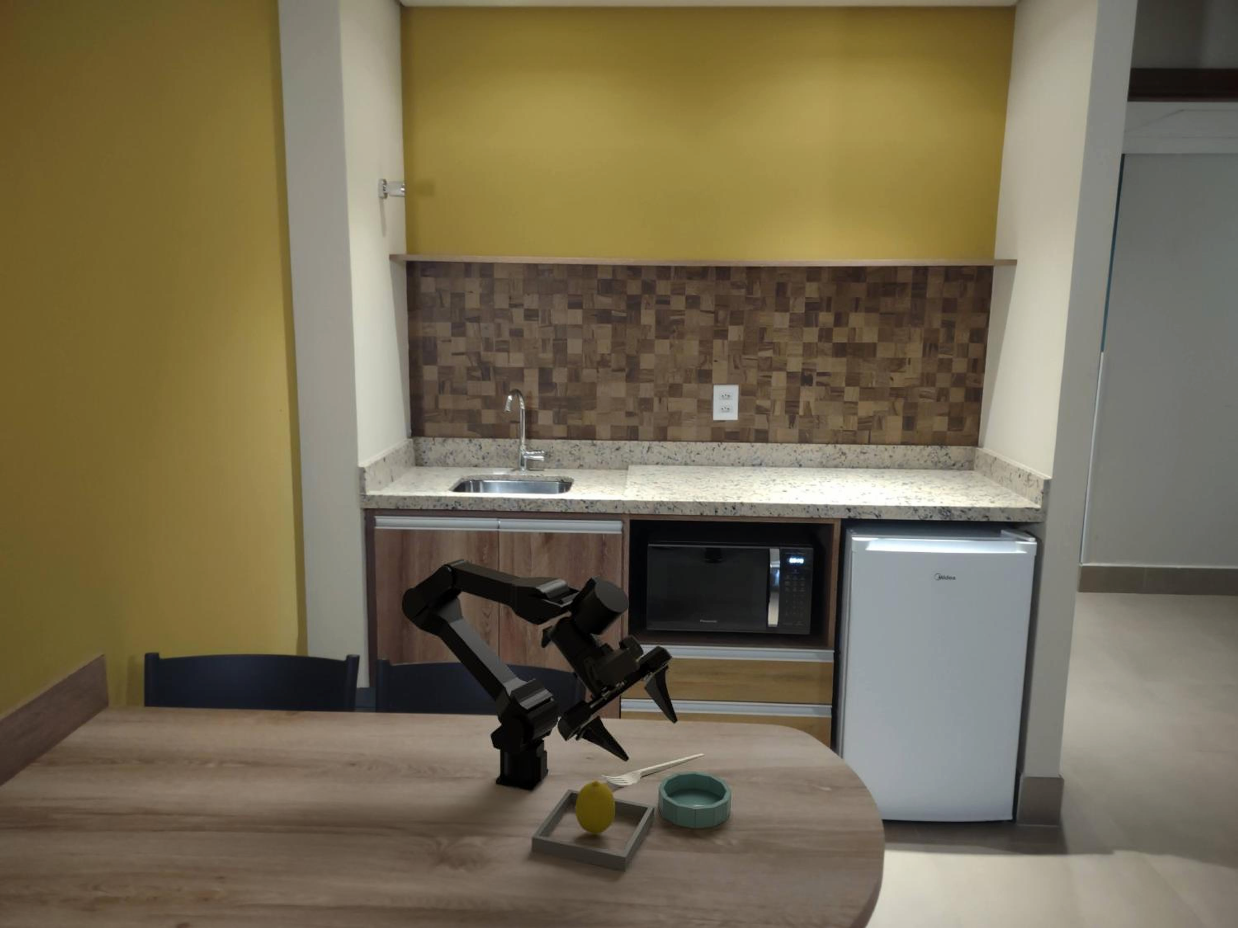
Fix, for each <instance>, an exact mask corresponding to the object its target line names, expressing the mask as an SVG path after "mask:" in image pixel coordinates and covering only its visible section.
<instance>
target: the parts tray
mask: <svg viewBox="0 0 1238 928" xmlns="http://www.w3.org/2000/svg"><path fill="white" fill-rule="evenodd" d="M579 792H580V790H574V789H567V790H566V792H565V793H564V795H563V796H562V797H561V798H560V800H559V801H558V803H557V804H556V805H555V807H553V809H552V810H551V812H549V815H547V816H546V818H545V820H544V821H543V822H542V824H541V825H540V826H539V827H538V829H537V830H536V831H535V833H534V834H533V835H532V837H531V851H532V852H537V853H541V854H544V855H545V854H546V855H551V856H555V857H560V858H564V859H568V860H573V861H577V862H583V863H587V864H592V865H595V866H600V867H604V868H609V869H613V870H614V869H615V870H617V871H618V870H619V871H622V872H626V871H627V869H628V867H629V865H630V864H631V862H632V859H633V857H634V856H635V854H636V852H637V851H638V848H639V847H640V845H641V843H642V842H643V840H644V838H645V836H646V834H647V832H648V831H649V829H650V827H651V825H652V823H653V822H654V820H655V805H650V804H646V803H641V802H638V801H637V802H635V801H631V800H625V799H621V798H616V797H614V801H615V815H619V816H624V817H630V818H635V819H640V821H639V823H638V825H637V826H636V829H635V830H634V832H633V834H632V836H631V838H630V839H629V841H628V842H627V844H626V846H625V848H624V850H623V852H617V851H614V850H613V851H612V850H607V849H603V848H598V847H594V846H590V845H586V844H580V843H575V842H572V841H565V840H561V839H557V838H553V837H549V835H550V834H551V833H552V832H553V830H554V828H556V826H557V825H558V824H559V822H560V821H559V820H561V819H562V817H564V815H565V814H566V812H567V811H568V810H569V809H570V807H571V806H575V807H576V801H577V797H578V795H579ZM567 809H568V810H567ZM564 813H565V814H564ZM558 821H559V822H558ZM556 824H557V825H556ZM555 825H556V826H555Z"/></svg>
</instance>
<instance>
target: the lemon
mask: <svg viewBox="0 0 1238 928" xmlns="http://www.w3.org/2000/svg"><path fill="white" fill-rule="evenodd" d="M579 791H580V792H579V795H578V797H577V801H576V806H575V817H576V820H577V823H578V824H579V826H580V827H581V828H582V829H583V830H584V831H586V832H588V833H590V834H592V835H594V836H596V835H598V834H601V833H603V832H606V830H608V828H610V827H611V825H612V823H613V821H614V818H615V815H616V814H615V801H614V798H615V797H614V794H613V792H612V790H611V788H610V787H608V786H607V784H605V783H603V782H600V781H598V780H594V781H590V782H589V783H587V784H585V785H584V786H583V787H582V788H581V789H580V790H579Z"/></svg>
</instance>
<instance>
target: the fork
mask: <svg viewBox="0 0 1238 928" xmlns="http://www.w3.org/2000/svg"><path fill="white" fill-rule="evenodd" d="M700 757H705V754H704V753H698V754H694V755H690V756H686V757H682V758H679V759H675V760H671V761H667V762H664V763H659V764H657V765H652V766H649V767H644V768H640V769H638V770H634V771H631V772H627V773H625V774H622V775H617V776H607V775H603V774H600V776H601V777H602V778H604V779H605V780H606V781H608V782H609V783H610V784H612V785H615V786H618V787H622V788H626V787H628V786H632V785H633V784H637V783H639V782H640V781H641V779H642V777H644V776H646V775H647V776H648V775H650V774H653V773H657V772H659V771H660V772H661V771H664V770H666V769H670V768H671V767H674V766H678V765H680V764H683V763H687V762H689V761H692V760H695V759H698V758H700Z"/></svg>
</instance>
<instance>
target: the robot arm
mask: <svg viewBox="0 0 1238 928" xmlns="http://www.w3.org/2000/svg"><path fill="white" fill-rule="evenodd" d="M462 593H466V594H468V595H472V596H476V597H478V598H483V599H485V600H489V601H492V602H495V603H498V604H502V605H505V606H507V607H509V608H510V609H511V610H512V612H513V613H514V615H515V616H517V617H518V618H520V619H522V620H524V621H526V622H528V623H529V624H531V625H535V626H540V625H541V626H542V625H543V624H546V623H549V622H550V621H553V620H555V619H557V618H559V617H561V618H559V619H558V620H557V621H556V622H555V623H554V625H549V626H546V627H544V628H542V631H541V632H542V637H541V641H540V646H541V648H542V649H546V648H548V647H550V646H552V645H554V646H555V647H556V648H557V650H558V651H559V653H560V654H561V655H562V656H563V658H564V659H565V660H566V662H567V663H568V665H569V666H570V668H571V669H572V670H573V671H574V672H573V673H572V674H573V676H574V677H575V679H576V680H579V679H580V681H581V682H582V683H583V686H585V687H586V688H587V689H586V690H588V691H589V693H590V696H589V698H590V699H591V700H589V702H587V701H585V700H583V699H581V700H579V701H578V702H577V703H576V704H574V705H573V706H571V707H570V708H569V709H567V710H566V711H564V712H563V713H562V715H561V717H560V718H559V706H558V705H557V704H558V703H557V702H556V701H555V699H554V697H555V695H554V694H553V693H551V692H549V691H548V690H547V689H546V688H545V686H544V685H543V682H541V681H540V680H539V679H537V678H536V677H535V678H532V679H531V680H529V681H524V680H523V679H520V678H519V677H517V675H516V674H515V673H514V672H513V670H511V669H510V667H509V666H507V664H506V663H505V662H504V661H503V660H502V659H501V658H500V656H499V655H498V654H497V653H496V651H495V650H493V649H492V648H491V646H490V645H489V644H488V643H487V642H486V640H485V639H484V638H483V637H482V636H481V635H480V634H479V633H478V632H477V631H476V629H474V627H473V626H472V625H471V624H470V623H469V622H468V621H467V620H466V618H465V617H464V616H463V610H462V604H461V603H462V602H461V600H460V598H459V597H460V595H461V594H462ZM629 607H630V601H629V598H628V595H627V594H626V592H625V591H624V590H623V588H622V587H619V586H618V585H617V584H615V583H613V582H612V581H609V580H605V579H603V577H602V576H601V575H600V574H597V575H593V576H592V577H590V578H589V579H588V580H587V581H586V582H585V585H584V586H583V587H582V588H581V589H579V588H576V587H574V586H571V585H568V582H566V581H565V580H564V579H563V578H559V577H550V576H547V577H546V576H535V577H532V576H531V577H520V576H519V575H518V576H517V575H514V574H510V573H508V572H503V571H499V570H496V569H493V568H489V567H486V566H482V565H478V564H475V563H472V562H470V561H469V560H467V559H463V558H460V559H456V560H452V561H451V562H447V563H443V564H441V566H440V567H439V568H437V569H436V571H435V572H433V573H432V574H430V575H429V576H427V578H425V579H424V580H422V581H421V582H419V583H418V584H417V585H416V586H413V587H409V588H408V589H406V590H405V591H404V593H403V596H402V601H401V610H402V613H403V615H404V616H405V618H406V619H407V620H408V621H409V622H410V623H411V624H413V625H414V626H415V627H416V628H418V629H419V630H420V631H422V632H426V634H431V635H432V636H436V637H437V638H439V639H440V640H441V642H443V643H444V645H445V646H446V648H448V649H449V650H450V651H451V653H453V655H454V657H456V659H458V661H459V662H460V663H461V664H462V666H464V668H465V669H466V670H467V671H468V672H469V673H470V674H471V675H472V677H473V679H475V680H476V682H478V684H479V685H480V686H481V688H483V690H485V691H486V693H487V694H488V695H489V696H490V697H491V698H492V700H493V701H494V704H495V705H494V706H495V710H496V715H497V720H498V723H499V724H500V725H499V726H498V727H497V728H496V729H494V730H493V731H492V732H491V733H490V734H489V735H490V739H491V743H492V747H493V748H494V749H496V750H499V775H498V777H496V779H495V780H494V781H495V782H494V783H495V785H501V786H505V787H510V788H514V789H515V788H516V789H521V790H525V791H530V792H531V791H534V790H535V789H536V788H537V787H538V785H540V783H541V782H542V781H543V780H544V778H546V777H547V775H548V773H549V768H548V751H547V750H546V749H545V738H546V737H549V736H551V734H552V731H553V729H554V728H555V727H556V726H557V727H556V728H557V731H558V733H559V734H560V735H561V737H562V739H563V740H564V741H565V742H567V741H569V740H570V739H572V738H573V737H575V738H574V740H575V741H576V742H578V741H580V740H582V739H583V740H585V741H587V742H590V743H591V744H594V745H596V746H599V747H600V748H602V749H604V750H605V751H606V752H609V753H610V754H612V755H613V756H615V757H617V758H618V759H620V760H622V761H623V762H626V763H627V762H628V761H629V760H630V757H629V756H628V754H627V752H626V751H625V749H624V748H623V747H622V746H621V744H620V743H619V742H618V741H617V740H616V738H615V737H614V736H613V735H612V734H611V732H610V731H609V730H608V729H607V728H606V727H605V725H604V722H603V720H602V719H601V717H600V715H597V716H595V717H594V715H595V714H597V713H599V712H600V711H601V710H603V708H606V706H608V705H609V704H611V703H612V702H613V701H615V700H616V699H617V698H619V697H620V696H621V695H623V694H624V693H625V692H627V691H629V690H630V689H631V688H632V687H634V686H635V685H637V684H638V683H639V682H644V683H645V686H644V687H643V689H644V691H646V693H647V694H648V696H649V697H650V698H651V699H652V700H653V702H654V703H655V704H656V706H657V707H658V708H659V709H660V711H661V712H662V713H663V714H664V716H666V718H667V719H669V721H670V722H671V723H672V724H677V722H678V717H677V714H676V711H675V709H674V706H673V702H672V700H671V697H670V693H669V690H668V687H667V681H666V677H667V676H666V675H667V674H666V673H667V672H668V671H669V670H670V666H669V664H670V662H671V661H672V659H673V658H674V657H673V656H672V655H671V653H670V652H669V651H668V649H667V648H666V647H663V646H661V645H656V646H655V647H654V648H652V649H651V650H650V651H648V652H647V653H645V652H644V649H643V647H642V646H641V644H640V642H638V640H637V639H636V638H635V636H633V635H632V634H631V635H627V636H625V637H624V638H623V639H620V641H619V642H618V646H619V647H618V648H617V649H616V650H615V648H614V649H613V646H611V645H610V644H609V643H608V642H606V643H603V641H602V640H601V639H600V637H599V636H601V635H604V634H605V633H606V632H607V631H609V629H610V628H611V627H612V626H614V624H615V623H616V622H617V621H618V620H619V619H620V618H621V617H622V616H623V615H624V614H625V612H626V611H628V609H629ZM569 612H570V615H569V616H564V615H566V614H567V613H569ZM644 653H645V654H644ZM638 659H639V660H638ZM637 660H638V661H637ZM575 735H576V736H575Z"/></svg>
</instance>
